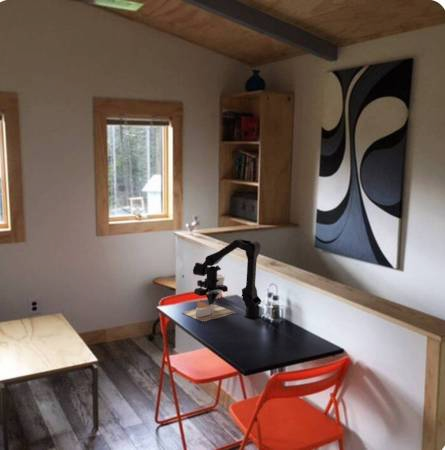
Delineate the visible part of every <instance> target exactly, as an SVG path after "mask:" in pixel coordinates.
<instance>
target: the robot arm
mask: <svg viewBox="0 0 445 450" xmlns="http://www.w3.org/2000/svg"><path fill="white" fill-rule="evenodd" d="M236 249H240V250H242V251H244V252H245V256H246V258H247V261H246V263H247V266H246V267H247V268H246V269H247V270H246V279H245V280H246V282H245V287H244V288H242V289H241V296H240V297H241V298H242V301H243V302H244V306H245V314H244V315H243V317H244V318H247V319H250V320H255V319H256V320H257V319H260V318H261V317H262V316H261V315H260V305H261V303H262V300H261V298H260V297H259V296H258V289H257V286H256V276H257V262H258V261H257V259H258V258H259V255H260V250H261V243H260V242H258V241H256V240H254V241H253V240H246V239H241V238H237V239H234V240H233V241H232V242H231V243H229V244H228V245H226V246H224V247H223V248H222V249H220V250H219V251H216V252H214V253H211V254H209V255H207V256H205V259H204V261H203V263H201V262H195V264H194V266H193V269H192V273H193V275H194V276H200V277H205V276H206V278H204V281H203V280H202V279H200V280H197V282H196V285H197V288H195V289H194V294H195V295H197V296H198V297H203V296H206V298H207V301H208V304H209V305H211V304H214V302H215V300H217V299H216V297H217V296H218V294H219V293H218V290H222V293H225V292H227V293H228V289H229V288H228V286H227V285H224V284H223V285H222V284H221V285H217V282H218V280H217V274H218V271H221V270H222V268H221V267H220V266H219V265H217V264H219V263H220V262H221V261H222V260H223V259H224V258H225V257H226V256H228V255H229V254H230V253H232V252H233V251H235V250H236ZM215 265H216V266H215ZM198 287H199V288H198Z"/></svg>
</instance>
